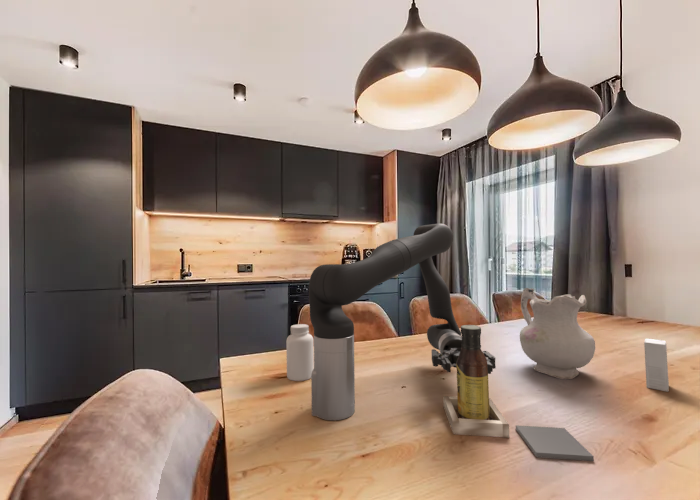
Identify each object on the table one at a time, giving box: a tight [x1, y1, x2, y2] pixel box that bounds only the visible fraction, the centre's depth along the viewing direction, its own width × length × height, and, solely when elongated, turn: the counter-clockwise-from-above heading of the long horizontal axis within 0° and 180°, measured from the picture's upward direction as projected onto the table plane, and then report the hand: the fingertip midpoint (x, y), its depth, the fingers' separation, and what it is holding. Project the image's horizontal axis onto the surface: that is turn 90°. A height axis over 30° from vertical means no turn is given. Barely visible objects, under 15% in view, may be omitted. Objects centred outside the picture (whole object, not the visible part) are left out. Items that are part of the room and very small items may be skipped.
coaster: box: [515, 424, 595, 462], centre depth 57 cm, size 9×9×1 cm
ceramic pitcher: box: [519, 287, 596, 380], centre depth 97 cm, size 22×20×25 cm
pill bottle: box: [285, 323, 314, 382], centre depth 93 cm, size 8×8×15 cm
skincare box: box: [643, 338, 670, 393], centre depth 83 cm, size 6×4×12 cm
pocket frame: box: [442, 395, 510, 439], centre depth 66 cm, size 10×11×2 cm
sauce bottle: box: [456, 324, 490, 420], centre depth 66 cm, size 6×6×20 cm
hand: (469, 368), depth 69 cm, fingers open, 8 cm apart
